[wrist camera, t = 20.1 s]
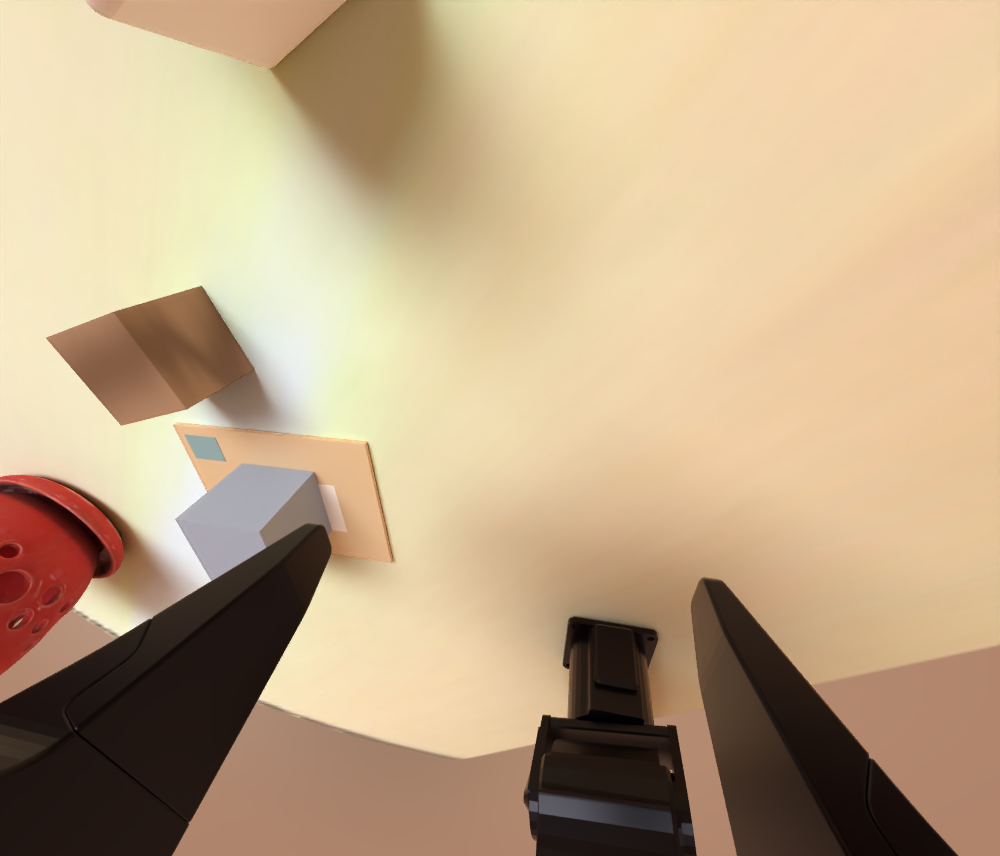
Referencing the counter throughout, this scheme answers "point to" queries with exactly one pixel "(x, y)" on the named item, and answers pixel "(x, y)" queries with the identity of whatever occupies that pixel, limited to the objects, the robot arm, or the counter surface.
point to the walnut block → (154, 355)
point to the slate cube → (250, 514)
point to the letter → (332, 461)
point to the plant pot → (47, 558)
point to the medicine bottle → (226, 23)
